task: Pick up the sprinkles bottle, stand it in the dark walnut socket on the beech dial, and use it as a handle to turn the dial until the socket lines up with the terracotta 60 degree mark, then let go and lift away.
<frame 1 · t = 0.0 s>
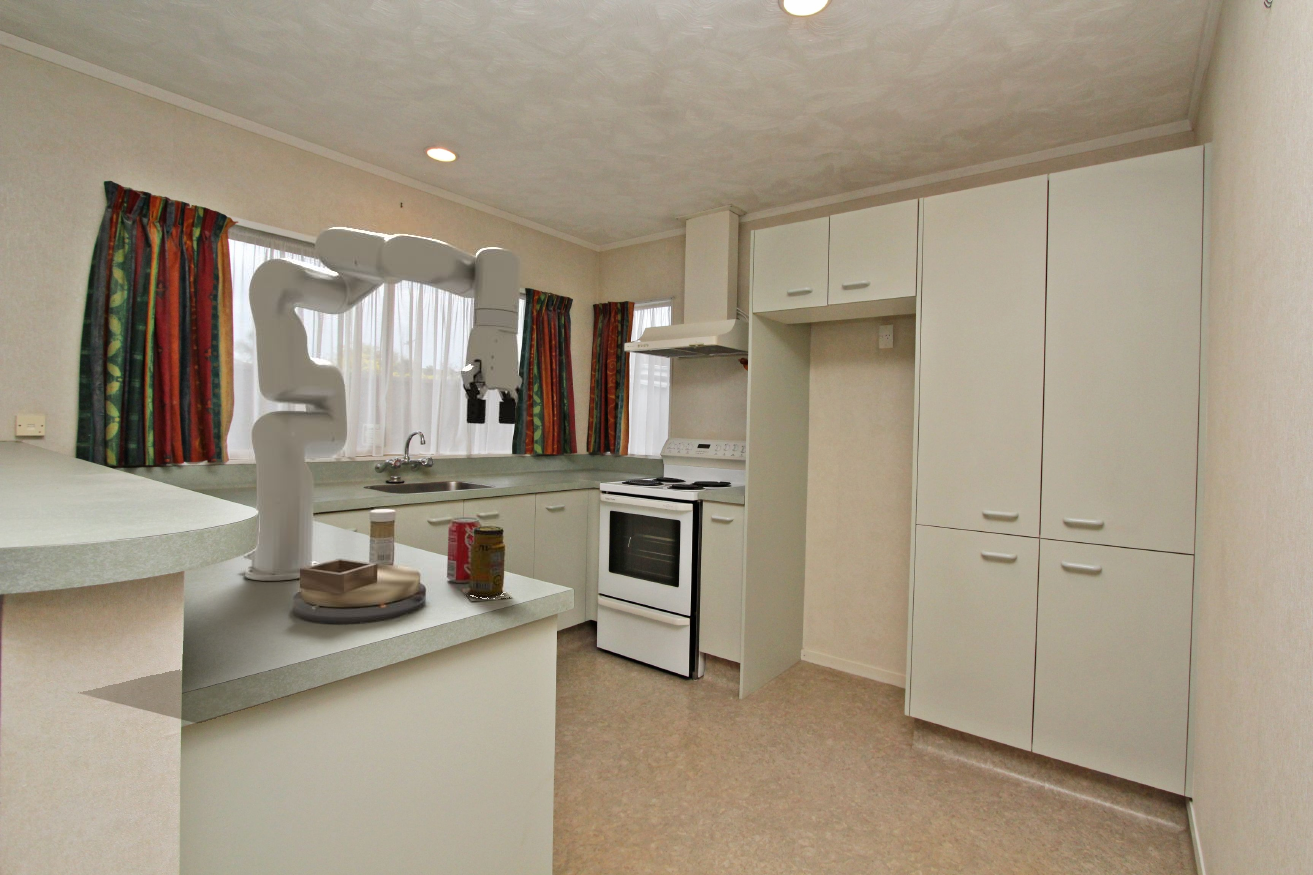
hand: (492, 423, 105), 31 cm above the countertop, tool pointing down, fingers open, 9 cm apart
beverage can: (463, 581, 120), on the countertop
sprinkles bottle: (380, 580, 118), on the countertop
dial plate: (362, 604, 103), on the countertop
condiment: (486, 595, 112), on the countertop
dial: (362, 575, 103), point 5 cm above the countertop, hinge at 0.0°
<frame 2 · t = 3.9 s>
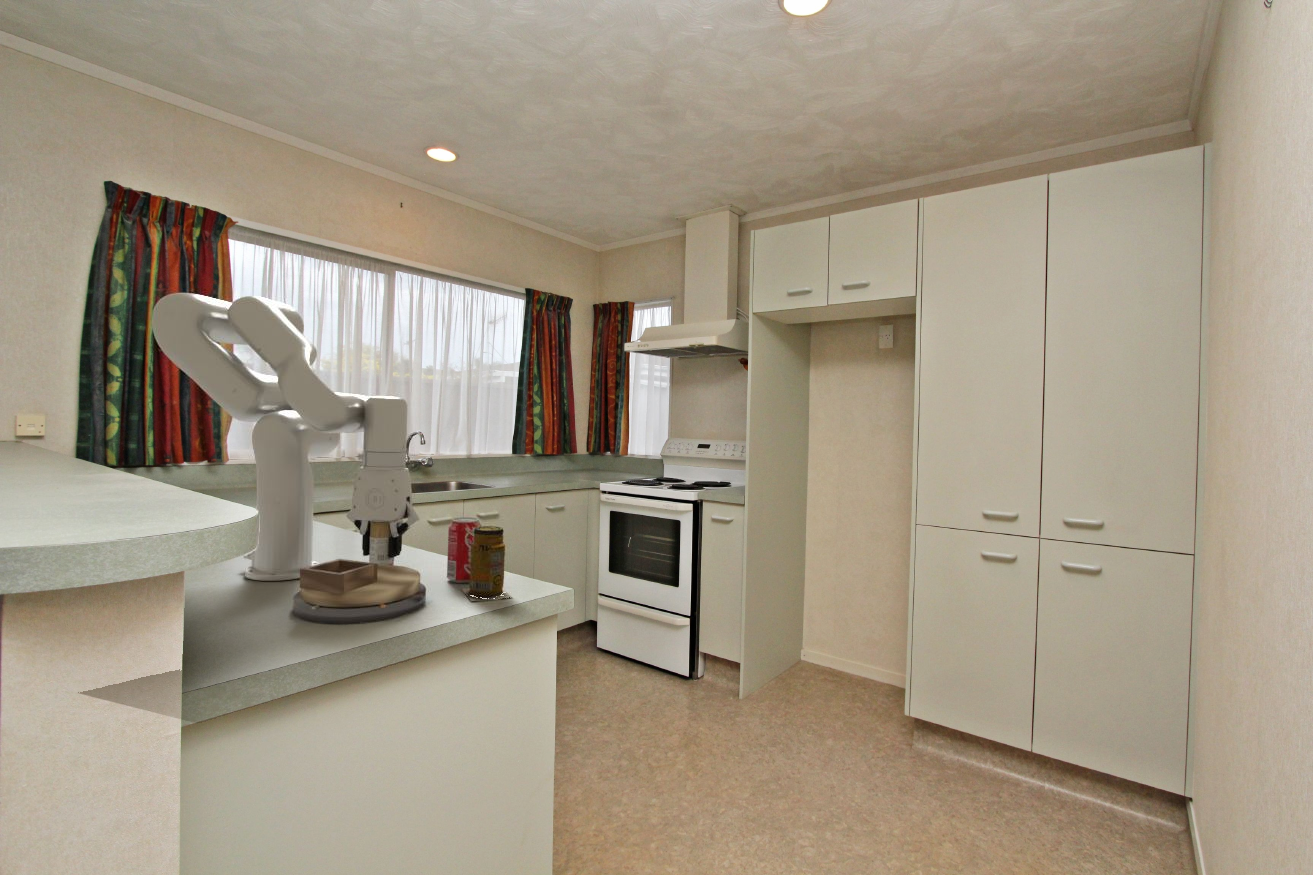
hand: (381, 554, 118), 5 cm above the countertop, tool pointing down, fingers closed on sprinkles bottle, 4 cm apart
sprinkles bottle: (380, 580, 118), on the countertop, touching gripper
everything else where it was.
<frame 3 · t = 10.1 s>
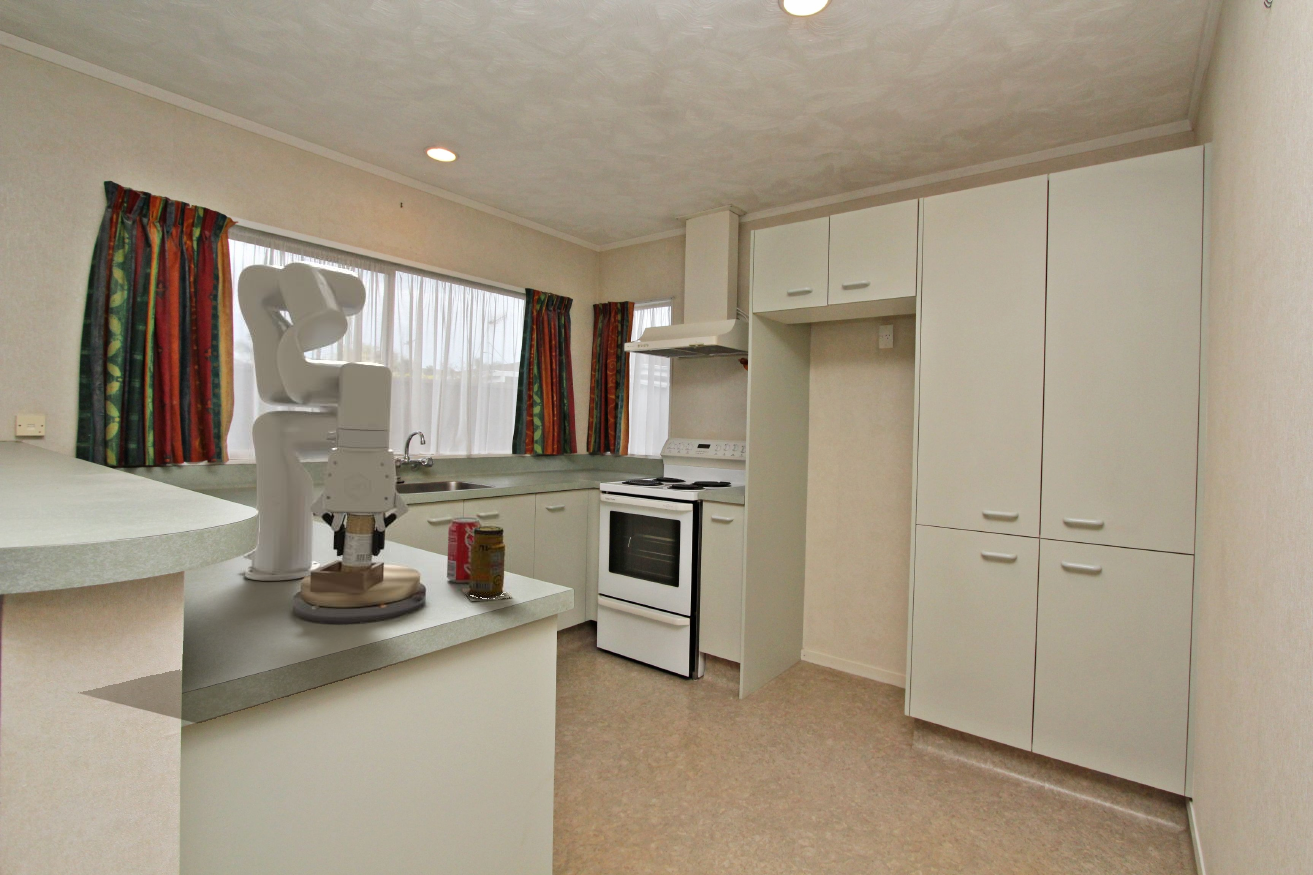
hand: (359, 552, 98), 10 cm above the countertop, tool pointing down, fingers closed on sprinkles bottle, 4 cm apart
sprinkles bottle: (354, 585, 98), point 5 cm above the countertop, touching dial, gripper
dial: (362, 575, 103), point 5 cm above the countertop, hinge at 17.8°, touching sprinkles bottle
everything else where it was.
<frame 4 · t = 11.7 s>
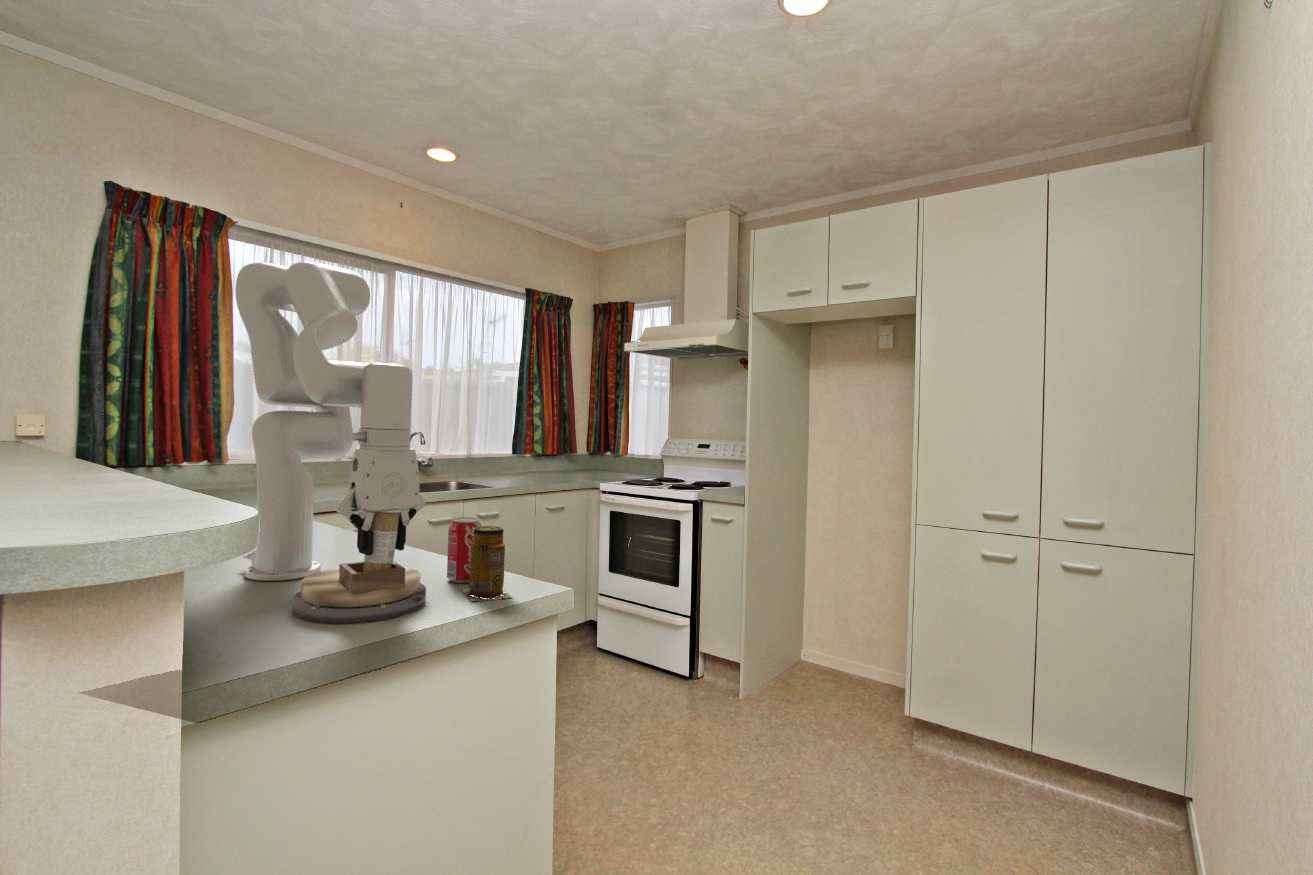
hand: (381, 550, 100), 10 cm above the countertop, tool pointing down, fingers closed on sprinkles bottle, 4 cm apart
sprinkles bottle: (375, 582, 100), point 5 cm above the countertop, touching dial, gripper
dial: (362, 575, 103), point 5 cm above the countertop, hinge at 57.7°, touching sprinkles bottle
everything else where it was.
when the fingers open (10 cm above the countertop, at t = 12.3 s): sprinkles bottle stays where it is, resting on dial.
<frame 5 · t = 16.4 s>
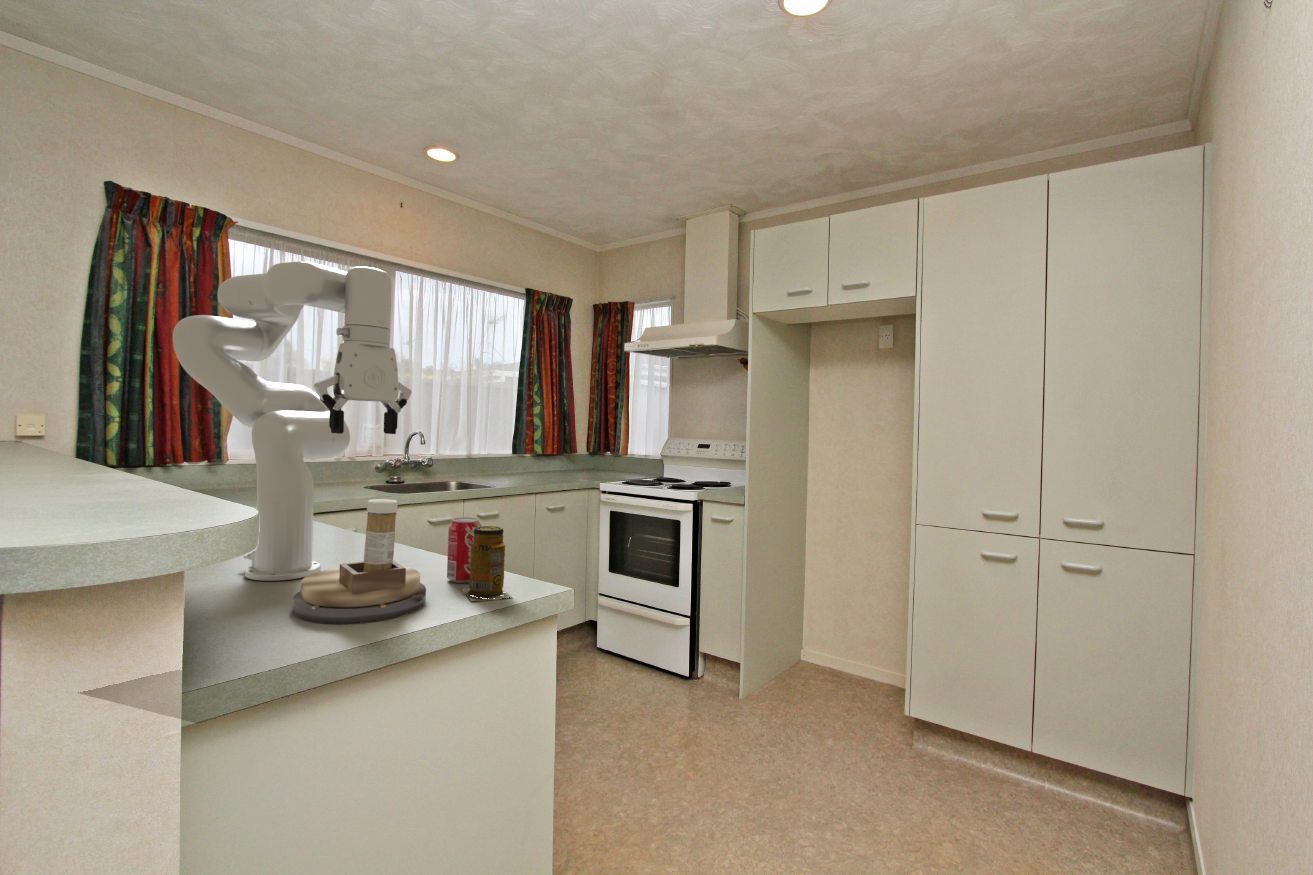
hand: (364, 433, 111), 28 cm above the countertop, tool pointing down, fingers open, 9 cm apart
sprinkles bottle: (376, 583, 100), point 4 cm above the countertop, touching dial
dial: (362, 575, 103), point 5 cm above the countertop, hinge at 58.4°, touching sprinkles bottle
everything else where it was.
at the end: dial at +58° (first picture: +0°); sprinkles bottle 0.9 cm from the target spot on the dial, point 4.4 cm above the dial's base; sprinkles bottle tilted 3° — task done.
